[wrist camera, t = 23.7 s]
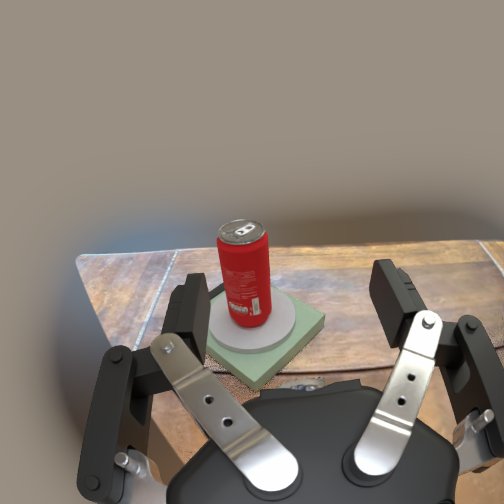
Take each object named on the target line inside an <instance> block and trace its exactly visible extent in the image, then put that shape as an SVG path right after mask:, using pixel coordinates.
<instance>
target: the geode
mask: <svg viewBox="0 0 504 504" xmlns="http://www.w3.org/2000/svg"><path fill="white" fill-rule="evenodd" d="M320 378H321V377H319V378H317V379H315V378H301V379H300V380H297V379H296V380H294V381H292V380H291V381H288V382H285V383H283V384H282V385H280V386H277V387H276V388H275V389H277V388H290V389H298V390H306V391H313V390H316V389H319V388H322V387H325V386H324V384H325V381H323V379H324V378H321V379H320Z"/></svg>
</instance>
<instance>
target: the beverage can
mask: <svg viewBox="0 0 504 504" xmlns="http://www.w3.org/2000/svg"><path fill="white" fill-rule="evenodd" d="M217 247H218V253H219V259H220V265H221V270H222V276H223V282H224V287H225V293H226V298H227V304H228V309H229V314H230V316H231V317H232V319H233V320H234V321H235V322H236V323H237V324H238V325H239V326H241V327H244V328H255V327H259V326H261V325H262V324H264V323H265V322H266V321H267V319H268V317H269V315H270V313H271V310H272V302H271V284H270V266H269V248H268V235H267V233H266V232H265V228H264V226H263V225H262V224H261V223H259V222H257V221H253V220H236V221H232V222H229V223H227V224H225V225H224V226H222V227H221V228H220V229H219V232H218V238H217Z"/></svg>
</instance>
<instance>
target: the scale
mask: <svg viewBox="0 0 504 504" xmlns="http://www.w3.org/2000/svg"><path fill="white" fill-rule="evenodd" d="M209 296H210V302H211V310H210V319H209V327H208V336H207V344H206V353H208V354H209V355H210V356H211V357H212V358H214V359H215V360H216V361H217V362H218V363H220V364H221V365H222V366H223V367H224V368H226V369H227V370H228V371H229V372H231V373H232V374H233V375H234V376H236V377H237V378H238V379H239V380H241V381H242V382H243V383H245V384H246V385H247V386H248V387H250V388H251V389H252V390H254V391H255V392H257V391H258V390H259V389H260V388H262V387H263V386H264V385H265V384H266V383H267V382H268V381H269V380H270V379H271V378H272V377H273V376H274V375H276V374H277V373H278V372H279V371H280V370H281V369H282V368H283V367H284V366H285V365H286V364H287V363H288V362H289V361H290V360H291V359H292V358H293V357H294V356H295V355H296V354H297V353H298V352H299V351H300V350H301V349H302V348H303V347H304V346H305V345H306V344H307V343H308V342H309V341H310V340H311V339H312V338H313V337H314V336H315V335H316V334H317V333H318V332H319V331H320V330H321V329H322V328H323V327H324V321H325V314H324V313H322V312H320V311H318V310H316V309H315V308H313V307H311V306H309V305H307V304H305V303H303V302H301V301H300V300H298V299H296V298H294V297H292V296H290V295H288V294H287V293H285V292H283V291H281V290H279V289H277V288H276V287H274V286H272V285H271V302H272V310H271V313H270V315H269V317H268V319H267V321H266V322H265V323H264V324H262V325H261V326H259V327H255V328H244V327H241V326H239V325H238V324H237V323H236V322H235V321H234V320H233V319H232V317H231V316H230V314H229V309H228V304H227V298H226V293H225V287H224V282H223V283H222V284H220V285H219V286H217V287H216V288H215V289H213V290H212V291H210V292H209Z"/></svg>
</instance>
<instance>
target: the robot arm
mask: <svg viewBox="0 0 504 504" xmlns="http://www.w3.org/2000/svg"><path fill="white" fill-rule="evenodd" d="M369 292H370V297H371V299H372V302H373V304H374V307H375V309H376V312H377V314H378V317H379V319H380V322H381V324H382V327H383V329H384V332H385V335H386V337H387V340H388V343H389V345H390V348H397V347H399V349H400V353H399V355H398V358H397V360H396V362H395V365H394V367H393V369H392V372H391V374H390V376H389V378H388V380H387V383H386V385H385V387H384V389H383V391H380V390H378V389H375V388H372V387H368V386H361V383H360V379H355V380H348V381H342V382H335V383H333V384H330V385H327V386H325V387H322V388H319V389H316V390H313V391H306V390H298V389H290V388H277V389H261V390H260V396H259V397H256V398H253V399H251V400H249V401H247V402H245V403H243V404H242V405H241V404H240V403H239V402H238V401H237V400H236V399H235V398H234V396H233V395H232V394H231V393H230V392H229V391H228V390H227V389H226V387H225V386H224V385H223V384H222V383H221V382H220V381H219V379H218V378H217V377H216V376H215V375H214V374H213V372H212V371H211V370H210V369H209V368H208V367H206V368H205V367H204V366H203V365H204V363H205V353H206V344H207V336H208V327H209V319H210V310H211V302H210V296H209V291H208V287H207V283H206V278H205V275H204V273H193V274H188V275H187V278H186V282H185V285H178V286H177V287H176V288H175V289H174V291H173V292H172V293H171V297H170V301H169V304H168V310H167V312H166V316H165V320H164V324H163V328H162V332H161V335H159V336H158V337H156V338H155V339H154V340H153V342H152V343H151V346H149V347H147V348H144V349H140V350H136V351H132V352H131V350H130V349H129V348H128V347H126V346H123V345H119V346H115V347H112V348H110V349H109V350H108V351H107V352H106V353H105V355H104V357H103V360H102V363H101V367H100V370H99V374H98V378H97V382H96V386H95V390H94V394H93V398H92V402H91V406H90V411H89V415H88V420H87V424H86V429H85V434H84V439H83V445H82V450H81V456H80V462H79V468H78V474H77V488H78V490H79V492H80V493H81V495H82V496H83V497H84V498H86V499H87V500H90V501H92V502H95V503H97V504H455V488H456V483H457V479H458V476H460V475H463V474H465V473H468V472H470V471H472V472H474V473H481V472H483V471H485V470H486V469H488V468H490V467H491V466H493V465H495V464H496V463H498V462H499V461H501V460H503V459H504V368H503V366H502V364H501V361H500V359H499V357H498V355H497V353H496V351H495V349H494V346H493V344H492V342H491V340H490V338H489V336H488V334H487V332H486V330H485V329H484V327H483V325H482V323H481V322H480V320H479V319H477V318H476V317H474V316H471V315H464V316H462V317H461V318H460V319H459V321H458V323H453V322H444V321H442V320H441V318H440V317H439V316H438V315H437V314H436V313H434V312H432V311H428V309H427V308H426V306H425V304H424V302H423V300H422V298H421V297H420V295H419V293H418V291H417V290H416V288H415V286H414V284H412V281H411V279H410V277H409V276H408V274H407V273H405V272H404V271H403V270H402V269H401V268H398V269H396V267H395V266H394V264H393V262H392V261H391V259H382V260H375V261H374V264H373V269H372V274H371V279H370V285H369ZM434 366H439V369H440V371H441V374H442V377H443V380H444V383H445V386H446V389H447V392H448V396H449V399H450V402H451V405H452V409H453V412H454V415H455V419H456V423H457V426H456V427H455V429H454V432H453V445H452V444H451V443H450V442H449V441H448V440H446V439H445V438H444V437H442V436H441V435H440V434H438V433H437V432H436V431H434V430H433V429H432V428H430V427H429V426H427V425H426V424H425V423H423V422H422V421H421V420H419V419H418V418H417V414H418V412H419V409H420V406H421V404H422V401H423V398H424V396H425V393H426V390H427V387H428V384H429V381H430V378H431V375H432V372H433V368H434ZM169 390H172V391H173V392H174V394H175V395H176V397H177V398H178V399H179V401H180V402H181V404H182V405H183V407H184V408H185V409H186V411H187V412H188V413H189V415H190V416H191V418H192V419H193V420H194V422H195V423H196V425H197V426H198V428H199V429H200V430H201V432H202V433H203V434H204V436H205V437H206V438H207V439H208V441H207V442H206V443H205V444H204V445H203V446H202V447H201V448H200V450H199V451H198V452H197V453H196V454H195V455H194V456H193V457H192V458H191V459H190V460H189V461H188V462H187V463H186V464H185V466H183V467H182V469H181V470H180V471H179V472H178V473H177V474H176V475H175V476H174V477H173V478H172V479H171V481H170V483H169V485H164V484H163V483H162V481H161V479H160V476H159V469H158V467H157V465H156V464H155V463H154V462H153V461H152V460H150V459H149V458H148V457H147V447H148V438H149V437H148V436H149V428H150V419H151V410H152V402H153V394H157V393H161V392H165V391H169Z"/></svg>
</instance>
